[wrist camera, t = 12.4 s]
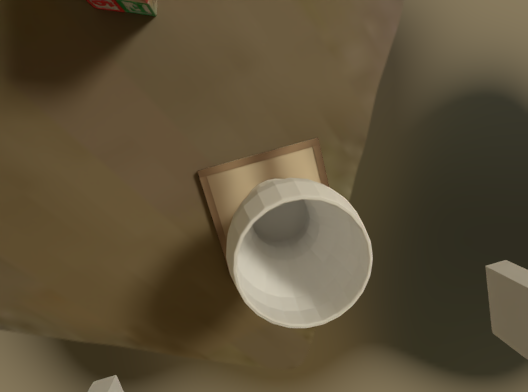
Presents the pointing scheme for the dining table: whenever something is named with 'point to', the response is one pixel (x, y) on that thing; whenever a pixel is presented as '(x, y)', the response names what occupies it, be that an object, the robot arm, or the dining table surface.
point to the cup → (298, 252)
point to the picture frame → (256, 179)
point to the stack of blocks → (127, 6)
